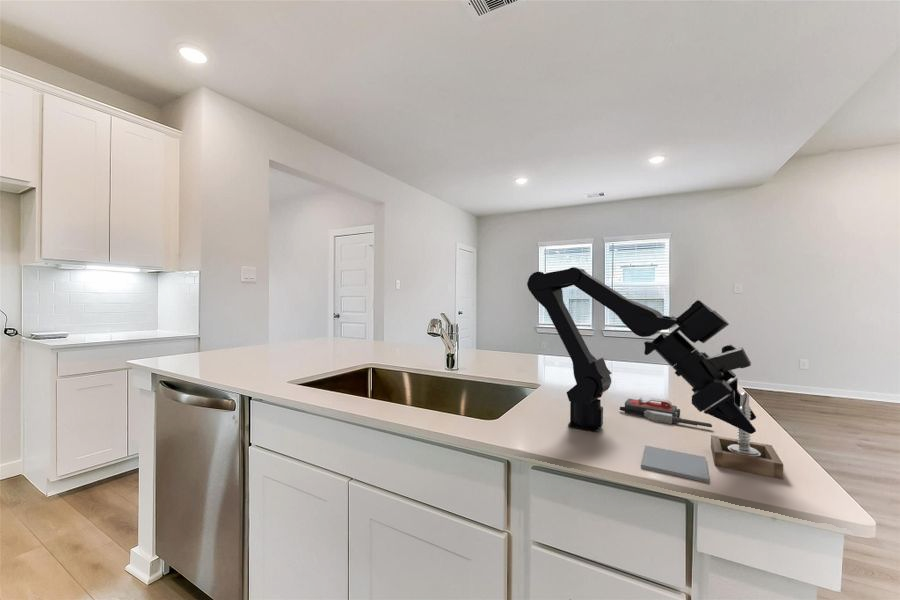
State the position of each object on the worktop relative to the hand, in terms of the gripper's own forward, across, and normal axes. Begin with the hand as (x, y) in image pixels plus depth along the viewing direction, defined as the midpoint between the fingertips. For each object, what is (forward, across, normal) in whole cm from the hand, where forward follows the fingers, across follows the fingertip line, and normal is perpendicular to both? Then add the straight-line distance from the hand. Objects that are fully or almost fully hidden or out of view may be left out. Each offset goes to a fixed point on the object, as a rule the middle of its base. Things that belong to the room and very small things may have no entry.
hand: (753, 425), depth 68 cm
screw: (+4, 0, +6) cm, 7 cm away
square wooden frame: (+4, 0, +6) cm, 7 cm away
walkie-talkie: (-7, +19, +18) cm, 27 cm away
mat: (-3, -10, +13) cm, 16 cm away
